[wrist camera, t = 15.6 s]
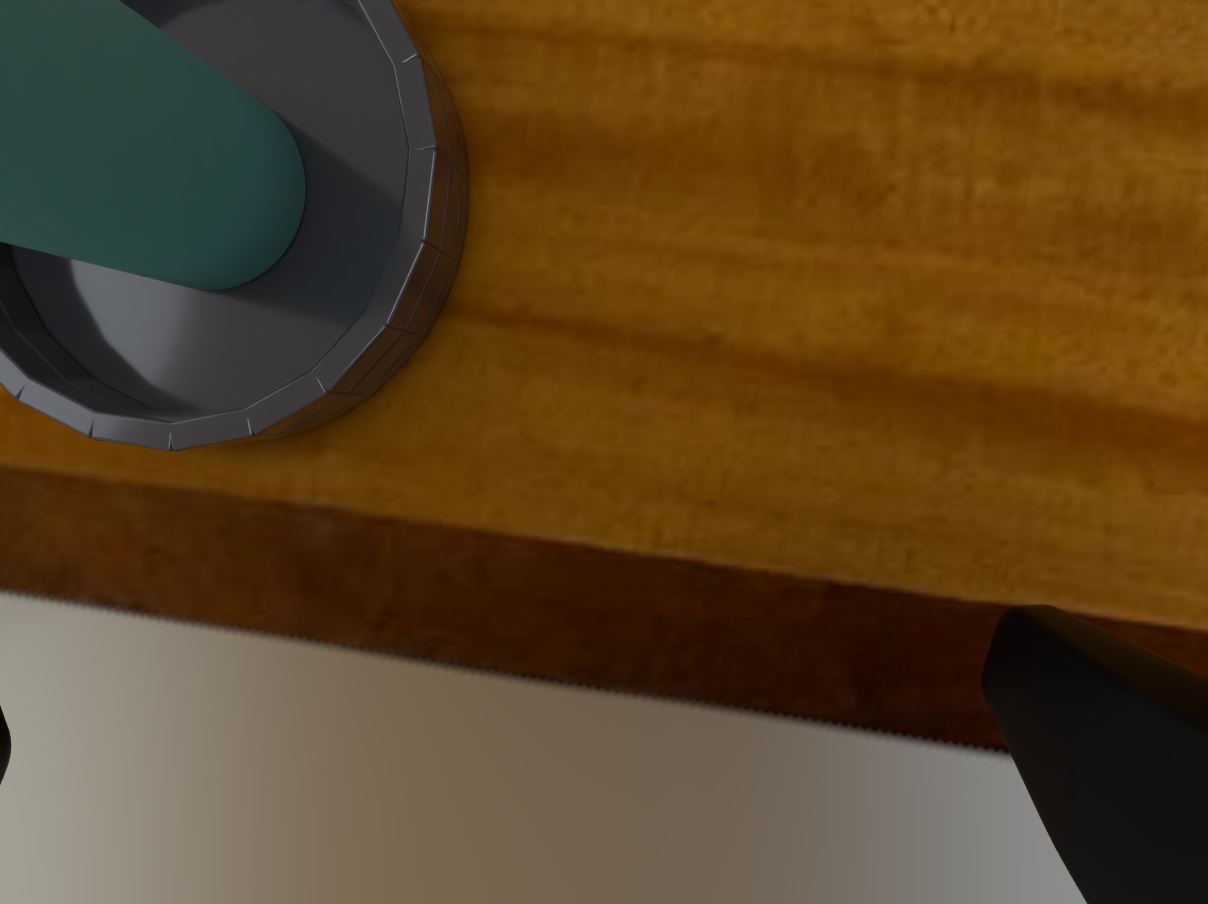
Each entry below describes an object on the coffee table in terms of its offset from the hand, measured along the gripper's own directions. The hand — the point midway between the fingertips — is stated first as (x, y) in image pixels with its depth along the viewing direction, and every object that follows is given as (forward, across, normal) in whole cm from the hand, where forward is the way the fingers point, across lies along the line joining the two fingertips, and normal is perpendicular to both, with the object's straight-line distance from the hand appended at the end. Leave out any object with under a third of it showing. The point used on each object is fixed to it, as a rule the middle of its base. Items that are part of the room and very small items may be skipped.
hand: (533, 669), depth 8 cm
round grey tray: (+14, +6, -2) cm, 16 cm away
